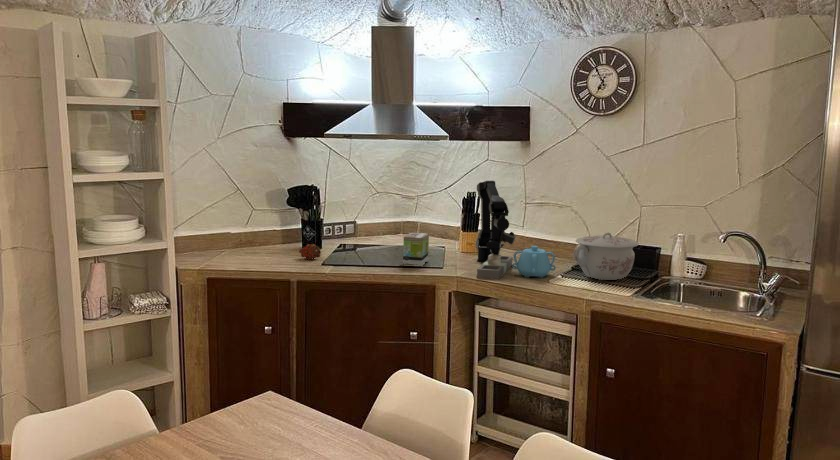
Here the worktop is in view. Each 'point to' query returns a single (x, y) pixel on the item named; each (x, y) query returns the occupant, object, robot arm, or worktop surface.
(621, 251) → the chamber pot
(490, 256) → the cream block
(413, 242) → the tea box
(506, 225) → the robot arm
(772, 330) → the worktop surface
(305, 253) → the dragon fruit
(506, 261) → the trap deck
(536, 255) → the decorative pot
